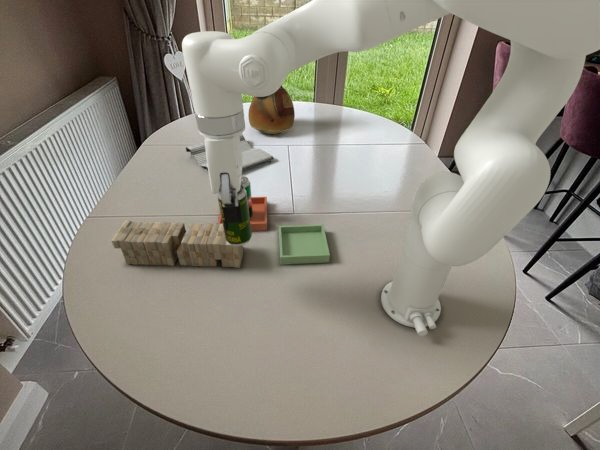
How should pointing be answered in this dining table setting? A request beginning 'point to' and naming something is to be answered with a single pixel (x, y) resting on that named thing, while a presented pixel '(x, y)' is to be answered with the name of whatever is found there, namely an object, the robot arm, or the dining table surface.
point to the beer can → (241, 230)
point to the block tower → (176, 244)
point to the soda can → (247, 186)
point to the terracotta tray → (257, 214)
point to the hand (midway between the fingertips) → (234, 211)
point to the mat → (248, 153)
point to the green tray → (303, 244)
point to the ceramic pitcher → (272, 112)
